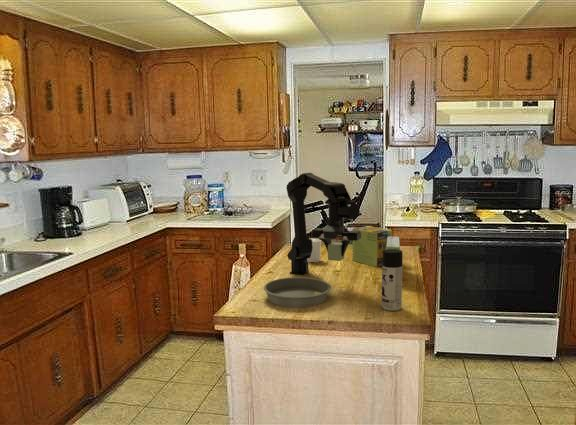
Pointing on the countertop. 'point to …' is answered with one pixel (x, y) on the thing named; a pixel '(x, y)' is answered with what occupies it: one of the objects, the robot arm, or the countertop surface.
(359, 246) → the protein box
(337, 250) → the olive block
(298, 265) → the robot arm
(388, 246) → the snack box
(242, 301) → the countertop surface
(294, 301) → the cake pan
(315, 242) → the white cup
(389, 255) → the spray can
